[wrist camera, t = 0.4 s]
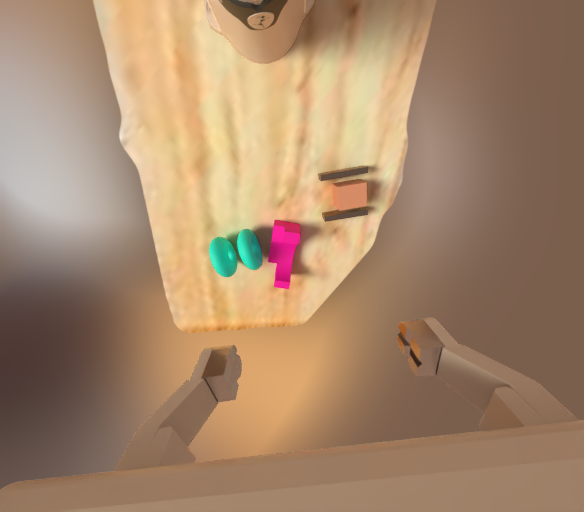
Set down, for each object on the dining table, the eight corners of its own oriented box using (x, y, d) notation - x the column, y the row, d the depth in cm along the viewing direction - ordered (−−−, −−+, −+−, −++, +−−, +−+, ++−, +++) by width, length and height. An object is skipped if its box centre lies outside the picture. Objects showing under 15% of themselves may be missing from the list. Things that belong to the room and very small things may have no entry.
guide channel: (318, 173, 47) (320, 175, 44) (362, 165, 47) (367, 166, 44) (322, 217, 52) (324, 221, 49) (362, 210, 51) (367, 214, 48)
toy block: (274, 219, 52) (273, 229, 45) (299, 223, 53) (300, 234, 46) (266, 270, 59) (264, 285, 52) (288, 273, 59) (288, 289, 53)
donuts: (265, 256, 56) (261, 275, 48) (231, 265, 57) (221, 286, 49) (252, 222, 52) (245, 236, 43) (215, 233, 53) (201, 249, 44)
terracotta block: (332, 183, 48) (337, 187, 43) (357, 179, 48) (366, 182, 43) (333, 204, 51) (339, 210, 45) (358, 200, 50) (366, 206, 45)
